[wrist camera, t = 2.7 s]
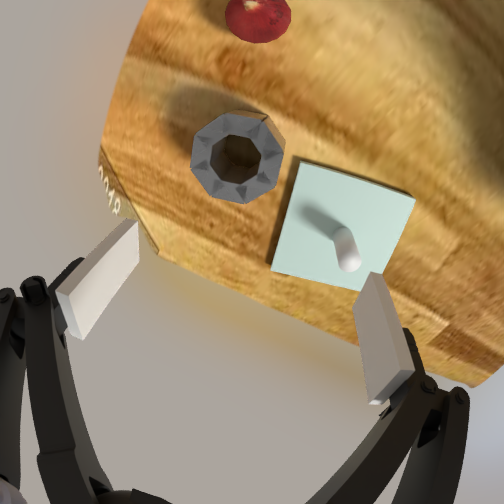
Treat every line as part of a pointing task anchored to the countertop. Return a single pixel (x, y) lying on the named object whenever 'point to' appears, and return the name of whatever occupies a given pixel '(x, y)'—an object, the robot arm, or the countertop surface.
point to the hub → (221, 167)
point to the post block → (339, 227)
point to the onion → (258, 19)
